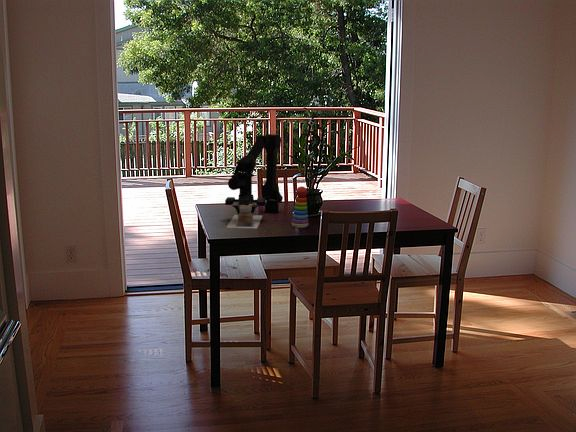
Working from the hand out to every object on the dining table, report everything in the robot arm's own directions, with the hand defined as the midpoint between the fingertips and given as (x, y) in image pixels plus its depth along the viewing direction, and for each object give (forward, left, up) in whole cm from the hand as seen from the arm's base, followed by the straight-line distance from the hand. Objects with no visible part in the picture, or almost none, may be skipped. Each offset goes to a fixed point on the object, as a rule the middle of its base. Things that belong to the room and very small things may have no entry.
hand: (245, 219), depth 326 cm
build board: (0, +2, -1) cm, 2 cm away
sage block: (0, 0, -1) cm, 1 cm away
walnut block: (-1, +9, 0) cm, 9 cm away
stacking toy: (-26, +5, -2) cm, 27 cm away
